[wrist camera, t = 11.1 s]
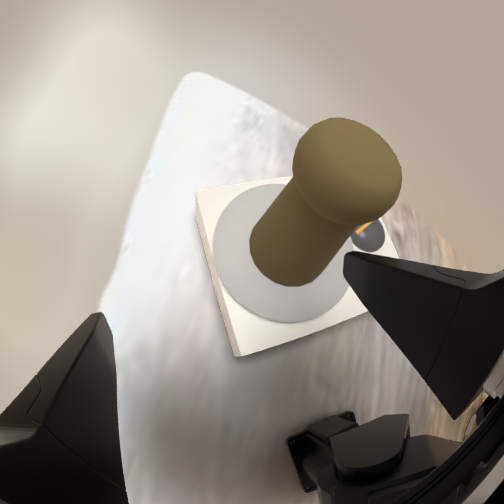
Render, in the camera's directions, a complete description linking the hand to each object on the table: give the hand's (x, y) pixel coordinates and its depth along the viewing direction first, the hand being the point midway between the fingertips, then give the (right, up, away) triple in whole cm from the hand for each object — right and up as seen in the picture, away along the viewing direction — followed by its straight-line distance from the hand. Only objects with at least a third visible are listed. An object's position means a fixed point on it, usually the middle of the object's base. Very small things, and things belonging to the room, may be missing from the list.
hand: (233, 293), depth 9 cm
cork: (+3, +2, +11) cm, 12 cm away
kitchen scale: (+5, +1, +16) cm, 17 cm away
